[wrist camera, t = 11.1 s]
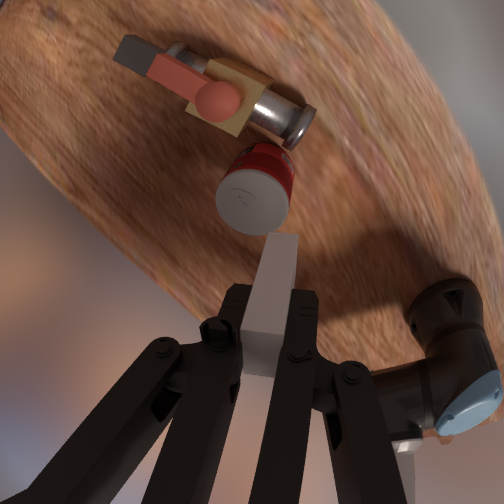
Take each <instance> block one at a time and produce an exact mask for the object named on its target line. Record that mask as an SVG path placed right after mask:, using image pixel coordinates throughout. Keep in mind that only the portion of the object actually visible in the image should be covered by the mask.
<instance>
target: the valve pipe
mask: <svg viewBox="0 0 504 504" xmlns="http://www.w3.org/2000/svg"><path fill="white" fill-rule="evenodd" d="M165 51H166V53H167V54H168V55H170V56H172V57H174V58H176V59H177V60H179V61H181V62H183V63H185V64H186V65H188V66H190V67H191V68H193V69H195V70H197V71H198V72H200V73H202V74H203V75H205V76H207V77H208V78H210V79H212V80H213V81H215V82H216V81H226V82H229V83H231V84H233V85H234V86H235V87H236V88H237V89H238V91H239V93H240V97H241V103H240V106H239V109H238V110H237V112H236V113H235V114H233V115H232V116H231V117H230V118H229V119H227V120H225V121H223V122H219V123H214V122H209V121H207V120H205V119H204V118H202V117H201V116H200V115H199V113H198V111H197V109H196V105H195V104H193V103H191V102H190V101H189V103H188V105H187V107H186V110H185V111H186V112H188V113H190V114H192V115H194V116H196V117H198V118H200V119H202V120H204V121H206V122H208V123H210V124H212V125H214V126H216V127H218V128H220V129H222V130H224V131H226V132H228V133H229V134H231V135H233V136H235V137H238V136H239V135H240V133H241V132H242V131H243V130H244V129H245V127H246V126H247V125H248V124H249V123H250V122H251V121H252V122H253V123H255V124H257V125H259V126H261V127H263V128H264V129H266V130H268V131H270V132H272V133H273V134H275V135H277V136H279V137H280V138H282V139H284V141H283V143H282V146H283V147H285V148H286V149H288V150H290V151H292V150H293V149H294V148H295V146H296V145H297V144H298V142H299V141H300V140H301V138H302V136H303V135H304V133H305V132H306V130H307V128H308V127H309V125H310V123H311V122H312V120H313V118H314V116H315V113H316V111H317V109H316V108H314V107H312V106H311V105H309V104H306V106H305V107H304V108H301V107H299V106H298V105H296V104H294V103H292V102H291V101H289V100H287V99H285V98H284V97H282V96H280V95H278V94H276V93H275V92H273V91H271V90H269V89H270V87H271V85H272V84H273V82H274V79H272V78H270V77H268V76H266V75H265V74H263V73H261V72H259V71H257V70H255V69H253V68H251V67H249V66H247V65H245V64H243V63H240V62H238V61H236V60H234V59H232V58H230V57H225V58H215V59H210V60H208V59H205V58H203V57H201V56H198V55H196V54H194V53H191V52H190V46H189V45H188V44H186V43H184V42H181V41H175V42H174V43H172V44H171V45H170V46H169V47H168V48H167V49H166V50H165ZM155 82H156V81H155ZM156 83H158V82H156ZM158 84H160V83H158Z"/></svg>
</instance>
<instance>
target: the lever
mask: <svg viewBox="0 0 504 504" xmlns="http://www.w3.org/2000/svg"><path fill="white" fill-rule="evenodd" d="M113 60H114V61H116V62H118V63H120V64H121V65H123V66H125V67H127V68H129V69H131V70H132V71H134V72H136V73H138V74H140V75H141V76H143V77H146V76H148V77H149V78H151V79H153V80H155V81H156V82H158V83H160V84H161V85H163V86H165V87H167V88H168V89H170V90H172V91H173V92H175V93H177V94H178V95H180V96H182V97H183V98H185V99H186V100H188V101H190V102H191V103H193V104H195V105H196V109H197V111H198V113H199V115H200V116H201V117H202V118H204V119H205V120H207V121H209V122H214V123H219V122H223V121H225V120H227V119H229V118H230V117H231V116H232V115H233V114H235V113H236V112H237V110H238V109H239V106H240V103H241V97H240V93H239V91H238V89H237V88H236V87H235V86H234V85H233V84H231V83H229V82H226V81H216V82H215V81H213V80H212V79H210V78H208V77H207V76H205V75H203V74H202V73H200V72H198V71H197V70H195V69H193V68H191V67H190V66H188V65H186V64H185V63H183V62H181V61H179V60H177V59H176V58H174V57H172V56H170V55H168V54H167V53H166V51H165V50H164V49H162V48H160V47H158V46H156V45H154V44H152V43H150V42H148V41H146V40H144V39H142V38H140V37H138V36H136V35H125V36H124V37H123V39H122V41H121V43H120V45H119V47H118V49H117V51H116V53H115V56H114V58H113Z"/></svg>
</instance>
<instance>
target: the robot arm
mask: <svg viewBox="0 0 504 504" xmlns="http://www.w3.org/2000/svg"><path fill="white" fill-rule="evenodd" d="M298 235H299V234H289V233H278V232H269V233H268V236H267V239H266V243H265V246H264V250H263V253H262V257H261V260H260V263H259V267H258V270H257V274H256V277H255V280H254V284H253V285H246V284H237V283H234V284H233V285H232V286H231V287H230V288H229V289H228V290H227V292H226V295H225V298H224V300H223V303H222V305H221V308H220V311H219V313H218V316H215V317H211V318H208V319H207V320H205V321H204V322H202V324H201V325H200V327H199V328H200V333H201V338H202V341H200V342H198V343H193V344H183V345H180V344H179V343H178V341H177V340H175V339H173V338H170V337H160V338H157V339H155V340H153V341H152V342H151V343H150V344H149V345H148V346H147V347H146V348H145V350H144V351H143V352H142V353H141V354H140V356H138V358H137V359H136V360H135V361H134V362H133V364H132V365H131V366H130V367H129V368H128V369H127V370H126V372H125V373H124V374H123V375H122V376H121V377H120V379H119V380H118V381H117V382H116V383H115V384H114V386H113V387H112V388H111V389H110V390H109V391H108V393H107V394H106V395H105V396H104V397H103V398H102V400H101V401H100V402H99V403H98V404H97V406H96V407H95V408H94V409H93V410H92V411H91V413H90V414H89V415H88V416H87V418H86V419H85V420H84V421H83V422H82V423H81V424H80V426H79V427H78V428H77V429H76V431H75V432H74V433H73V434H72V435H71V436H70V438H69V439H68V440H67V441H66V443H65V444H64V445H63V446H62V447H61V449H60V450H59V451H58V452H57V453H56V454H55V456H54V457H53V458H52V459H51V461H50V462H49V463H48V464H47V465H46V467H45V468H44V469H43V470H42V472H41V473H40V474H39V475H38V476H37V478H36V479H35V480H34V481H33V482H32V484H31V485H30V486H29V487H28V489H26V490H24V491H22V492H20V493H18V494H16V495H14V496H12V497H10V498H8V499H6V500H4V501H2V502H0V504H110V502H111V501H112V500H113V499H114V497H115V496H116V495H117V493H118V492H119V491H120V489H121V488H122V486H123V485H124V484H125V482H126V481H127V480H128V478H129V477H130V476H131V474H132V473H133V472H134V470H135V469H136V468H137V466H138V465H139V463H140V462H141V461H142V459H143V458H144V457H145V455H146V454H147V453H148V451H149V450H150V448H151V447H152V446H153V444H154V443H155V442H156V440H157V439H158V437H159V436H160V435H161V433H162V432H163V430H164V429H165V427H166V426H167V425H168V423H169V422H170V420H171V419H172V418H173V419H172V422H171V424H170V427H169V430H168V432H167V435H166V438H165V440H164V443H163V446H162V448H161V451H160V454H159V456H158V459H157V462H156V464H155V467H154V470H153V473H152V475H151V478H150V481H149V483H148V486H147V489H146V492H145V494H144V497H143V500H142V502H141V504H208V502H209V498H210V495H211V491H212V487H213V484H214V480H215V477H216V473H217V470H218V466H219V463H220V459H221V455H222V452H223V448H224V444H225V441H226V437H227V433H228V430H229V426H230V422H231V419H232V415H233V411H234V407H235V403H236V400H237V395H238V392H239V388H240V376H241V372H242V368H243V373H245V374H252V375H259V376H266V377H274V378H275V380H274V385H273V391H272V396H271V401H270V406H269V411H268V416H267V421H266V426H265V431H264V436H263V440H262V445H261V449H260V454H259V459H258V464H257V468H256V472H255V477H254V481H253V485H252V490H251V494H250V498H249V502H248V504H299V498H300V491H301V485H302V479H303V471H304V465H305V458H306V450H307V443H308V435H309V426H310V418H311V409H312V408H313V409H315V410H318V411H320V412H322V414H323V419H324V424H325V429H326V434H327V440H328V445H329V451H330V456H331V462H332V467H333V473H334V479H335V485H336V491H337V496H338V502H339V504H415V459H414V455H415V451H416V450H417V449H418V448H419V446H420V445H421V444H422V443H423V433H422V432H423V430H427V429H431V428H435V430H436V431H437V433H438V434H439V435H441V436H447V435H455V434H458V433H461V432H463V431H466V430H468V429H470V428H472V427H474V426H476V425H478V424H479V423H481V422H482V421H484V420H485V419H486V418H488V417H489V416H490V415H491V414H492V413H493V412H494V411H495V410H496V409H497V408H498V406H499V405H500V403H501V401H502V398H503V387H502V383H501V379H500V377H501V374H500V371H499V370H498V367H497V364H496V361H495V358H494V355H493V352H492V349H491V346H490V344H489V341H488V338H487V335H486V333H485V330H484V320H483V302H482V298H481V295H480V293H479V291H478V289H477V287H476V286H475V285H474V284H473V283H471V282H469V281H467V280H463V279H449V280H445V281H442V282H439V283H436V284H434V285H432V286H431V287H429V288H427V289H426V290H425V291H423V292H422V293H421V294H420V295H419V296H418V297H417V298H416V299H415V300H414V302H413V303H412V305H411V307H410V309H409V313H408V322H409V327H410V331H411V333H412V335H413V337H414V338H415V339H416V341H417V342H418V344H419V345H420V347H421V348H422V350H423V351H424V353H425V357H426V358H425V359H422V360H418V361H414V362H410V363H407V364H403V365H399V366H395V367H391V368H386V369H381V370H377V371H369V370H368V368H367V367H366V366H365V365H363V364H362V363H360V362H357V361H345V362H342V363H341V364H336V363H334V362H331V361H329V360H327V359H325V358H324V357H322V356H321V355H320V353H319V352H318V350H317V347H316V338H317V323H318V305H319V299H318V297H317V295H316V293H315V291H310V290H299V289H294V283H295V275H296V262H297V249H298Z"/></svg>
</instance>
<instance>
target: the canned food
mask: <svg viewBox="0 0 504 504" xmlns="http://www.w3.org/2000/svg"><path fill="white" fill-rule="evenodd" d="M293 179H294V167H293V164H292V161H291V159H290V158H289V156H288V155H287V154H286V153H285V152H284V151H283V150H282V149H280V148H279V147H277V146H275V145H272V144H268V143H257V144H253V145H250V146H248V147H246V148H245V149H244V150H243V151H242V152H241V153H240V154H239V155H238V157H237V158H236V160H235V161H234V163H233V164H232V166H231V167H230V169H229V170H228V171H227V173H226V174H225V176H224V177H223V179H222V181H221V182H220V184H219V186H218V189H217V192H216V196H215V202H216V207H217V210H218V212H219V215H220V216H221V218H222V219H223V220H224V221H225V222H226V223H227V224H228V225H229V226H230V227H231V228H233V229H234V230H236V231H238V232H240V233H243V234H247V235H252V236H261V235H266V234H268V233H269V232H274V231H275V230H277V229H278V228H279V227H280V226H281V225H282V224H283V223H284V221H285V219H286V217H287V214H288V211H289V206H290V199H291V193H292V186H293Z"/></svg>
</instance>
